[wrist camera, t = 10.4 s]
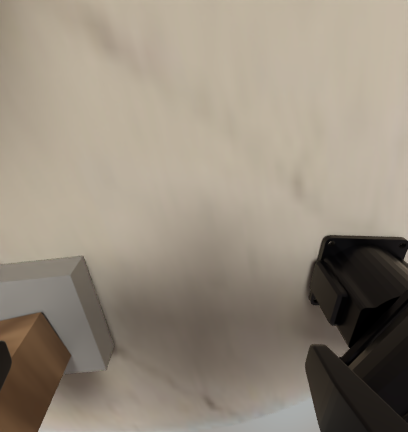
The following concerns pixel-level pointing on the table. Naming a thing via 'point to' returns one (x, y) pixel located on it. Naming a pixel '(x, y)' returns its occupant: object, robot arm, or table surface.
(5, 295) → the stone block
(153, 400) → the table surface
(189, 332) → the table surface
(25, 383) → the box
